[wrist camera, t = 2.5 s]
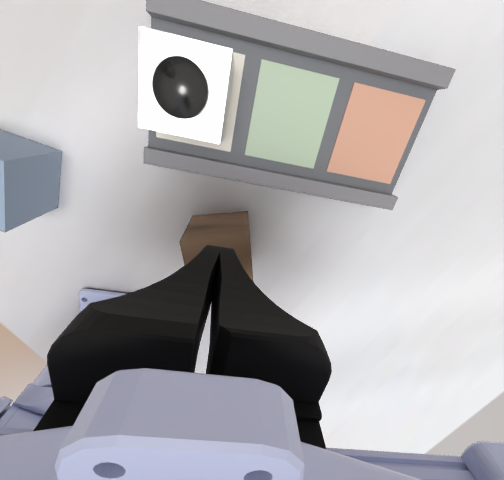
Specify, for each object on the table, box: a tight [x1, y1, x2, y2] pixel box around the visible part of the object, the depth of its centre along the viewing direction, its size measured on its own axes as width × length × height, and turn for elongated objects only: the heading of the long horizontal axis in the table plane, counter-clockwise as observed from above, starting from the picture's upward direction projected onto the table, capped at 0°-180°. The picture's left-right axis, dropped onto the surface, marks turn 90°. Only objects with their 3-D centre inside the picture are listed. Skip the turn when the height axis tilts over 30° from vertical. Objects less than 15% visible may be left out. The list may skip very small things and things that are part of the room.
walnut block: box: [180, 211, 253, 281], centre depth 19 cm, size 4×4×5 cm
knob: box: [138, 26, 235, 144], centre depth 13 cm, size 4×4×5 cm
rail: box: [144, 0, 456, 210], centre depth 17 cm, size 9×18×2 cm, turn 79°
